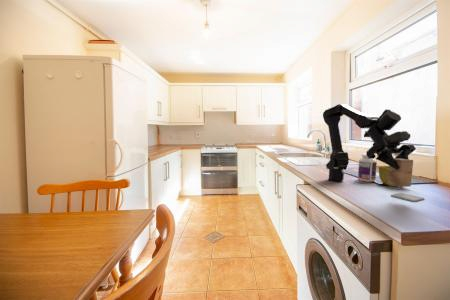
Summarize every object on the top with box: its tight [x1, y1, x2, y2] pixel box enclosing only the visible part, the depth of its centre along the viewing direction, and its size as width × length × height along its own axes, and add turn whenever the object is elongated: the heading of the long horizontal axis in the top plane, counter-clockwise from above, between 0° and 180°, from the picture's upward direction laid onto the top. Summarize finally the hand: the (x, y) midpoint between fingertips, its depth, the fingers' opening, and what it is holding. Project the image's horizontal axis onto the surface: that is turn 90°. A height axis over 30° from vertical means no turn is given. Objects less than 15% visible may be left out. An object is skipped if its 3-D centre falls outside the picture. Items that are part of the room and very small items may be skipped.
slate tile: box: [390, 192, 425, 203], centre depth 91 cm, size 8×8×1 cm
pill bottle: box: [357, 153, 378, 183], centre depth 120 cm, size 8×8×14 cm
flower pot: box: [378, 165, 396, 187], centre depth 111 cm, size 9×9×9 cm
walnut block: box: [388, 157, 414, 188], centre depth 85 cm, size 5×5×10 cm
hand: (404, 168), depth 84 cm, fingers closed on walnut block, 5 cm apart
